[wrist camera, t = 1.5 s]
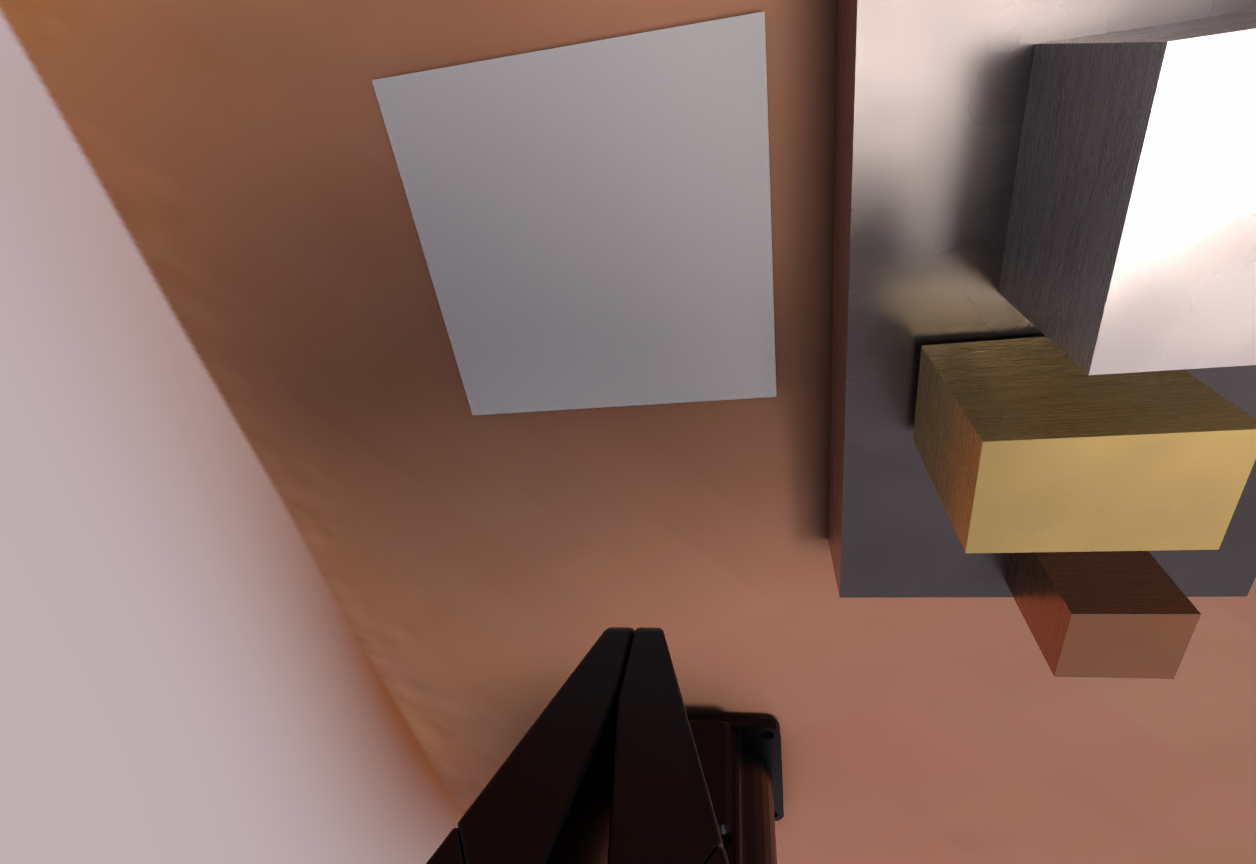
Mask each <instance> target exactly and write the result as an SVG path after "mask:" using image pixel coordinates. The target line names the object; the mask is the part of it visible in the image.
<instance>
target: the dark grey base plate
mask: <svg viewBox="0 0 1256 864" xmlns="http://www.w3.org/2000/svg"><path fill="white" fill-rule="evenodd" d="M1253 10H1256V0H838V6H837V65H836V125H835V184H834V244H833V303H832V363H831V422H830V482H829V545H830V550H831V555H832V561H833V566H834V571H835V576H836V581H837V586H838V591H839V596H840V597H1014V599H1015V601H1016V603H1017V605H1018V607H1019V609H1020V611H1021V613H1022V615H1023V616H1024V618H1025V620H1026V622H1027V624H1028V626H1029V628H1030V630H1031V632H1032V634H1033V636H1034V638H1035V640H1036V642H1037V644H1038V646H1039V648H1040V650H1041V652H1042V653H1043V655H1044V657H1045V659H1046V661H1047V663H1048V665H1049V667H1050V669H1051V671H1052V673H1053V675H1054V676H1057V677H1109V678H1162V679H1174V677H1175V675H1176V672H1177V670H1178V668H1179V665H1180V663H1181V660H1182V658H1183V656H1184V653H1185V651H1186V648H1187V646H1188V644H1189V641H1190V639H1191V637H1192V634H1193V632H1194V629H1195V627H1196V625H1197V622H1198V620H1199V618H1200V615H1201V614H1200V613H1199V611H1198V610H1197V609H1196V608H1195V607H1194V605H1193V604H1192V603H1191V602H1190V601H1189V599H1188V598H1187V597H1204V596H1247V595H1248V592H1249V590H1250V588H1251V586H1252V584H1253V582H1254V579H1255V577H1256V460H1255V462H1254V465H1253V467H1252V469H1251V472H1250V474H1249V477H1248V479H1247V482H1246V484H1245V487H1244V489H1243V491H1242V494H1241V496H1240V499H1239V501H1238V504H1237V506H1236V508H1235V511H1234V513H1233V516H1232V518H1231V521H1230V523H1229V526H1228V528H1227V530H1226V533H1225V535H1224V538H1223V540H1222V543H1221V545H1220V547H1219V550H1162V551H1094V552H1026V553H965V551H964V549H963V547H962V545H961V543H960V540H959V538H958V536H957V534H956V532H955V530H954V528H953V525H952V523H951V521H950V519H949V517H948V515H947V512H946V510H945V508H944V506H943V504H942V502H941V499H940V497H939V495H938V493H937V491H936V489H935V486H934V484H933V482H932V480H931V478H930V476H929V474H928V471H927V469H926V467H925V465H924V463H923V461H922V458H921V456H920V454H919V452H918V450H917V448H916V445H915V443H914V441H913V432H914V421H915V410H916V399H917V388H918V378H919V367H920V356H921V346H923V345H936V344H950V343H964V342H977V341H991V340H1005V339H1018V338H1032V337H1045V335H1044V334H1043V333H1042V332H1041V331H1040V330H1039V329H1037V328H1036V327H1035V326H1034V325H1033V324H1032V323H1031V322H1030V321H1029V320H1028V319H1027V318H1025V317H1024V316H1023V315H1022V314H1021V313H1020V312H1019V311H1018V310H1017V309H1016V308H1014V307H1013V306H1012V305H1011V304H1010V303H1009V302H1008V301H1007V300H1006V299H1005V298H1004V297H1002V296H1001V295H1000V294H999V293H998V289H999V283H1000V276H1001V269H1002V263H1003V256H1004V249H1005V242H1006V236H1007V229H1008V222H1009V216H1010V209H1011V202H1012V196H1013V189H1014V182H1015V175H1016V169H1017V162H1018V155H1019V149H1020V142H1021V135H1022V129H1023V122H1024V115H1025V108H1026V102H1027V95H1028V88H1029V82H1030V75H1031V68H1032V62H1033V55H1034V48H1035V44H1038V43H1044V42H1051V41H1057V40H1064V39H1071V38H1077V37H1084V36H1090V35H1097V34H1103V33H1110V32H1116V31H1123V30H1129V29H1136V28H1142V27H1149V26H1155V25H1162V24H1168V23H1175V22H1181V21H1188V20H1194V19H1201V18H1208V17H1214V16H1221V15H1227V14H1234V13H1240V12H1247V11H1253ZM1184 370H1186V371H1187V372H1189V373H1190V374H1192V375H1193V376H1194V377H1196V378H1197V379H1199V380H1200V381H1201V382H1203V383H1204V384H1206V385H1207V386H1208V387H1210V388H1211V389H1213V390H1214V391H1216V392H1217V393H1218V394H1220V395H1221V396H1223V397H1224V398H1225V399H1227V400H1228V401H1230V402H1231V403H1232V404H1234V405H1235V406H1237V407H1238V408H1240V409H1241V410H1242V411H1244V412H1245V413H1247V414H1248V415H1249V416H1251V417H1252V418H1254V419H1255V420H1256V365H1248V366H1231V367H1215V368H1199V369H1184Z"/></svg>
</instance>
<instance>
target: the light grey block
mask: <svg viewBox="0 0 1256 864" xmlns="http://www.w3.org/2000/svg"><path fill="white" fill-rule="evenodd" d="M998 293H999V294H1000V295H1001V296H1002V297H1004V298H1005V299H1006V300H1007V301H1008V302H1009V303H1010V304H1011V305H1012V306H1013V307H1014V308H1016V309H1017V310H1018V311H1019V312H1020V313H1021V314H1022V315H1023V316H1024V317H1025V318H1027V319H1028V320H1029V321H1030V322H1031V323H1032V324H1033V325H1034V326H1035V327H1036V328H1037V329H1039V330H1040V331H1041V332H1042V333H1043V334H1044V335H1045V336H1046V337H1047V338H1048V339H1049V340H1051V341H1052V342H1053V343H1054V344H1055V345H1056V346H1057V347H1058V348H1059V349H1060V350H1061V351H1063V352H1064V353H1065V354H1066V355H1067V356H1068V357H1069V358H1070V359H1071V360H1072V361H1074V362H1075V363H1076V364H1077V365H1078V366H1079V367H1080V368H1081V369H1082V370H1083V371H1084V372H1086V373H1087V374H1088V375H1102V374H1119V373H1135V372H1151V371H1167V370H1183V369H1199V368H1215V367H1231V366H1248V365H1256V10H1253V11H1247V12H1240V13H1234V14H1227V15H1221V16H1214V17H1208V18H1201V19H1194V20H1188V21H1181V22H1175V23H1168V24H1162V25H1155V26H1149V27H1142V28H1136V29H1129V30H1123V31H1116V32H1110V33H1103V34H1097V35H1090V36H1084V37H1077V38H1071V39H1064V40H1057V41H1051V42H1044V43H1038V44H1035V48H1034V55H1033V62H1032V68H1031V75H1030V82H1029V88H1028V95H1027V102H1026V108H1025V115H1024V122H1023V129H1022V135H1021V142H1020V149H1019V155H1018V162H1017V169H1016V175H1015V182H1014V189H1013V196H1012V202H1011V209H1010V216H1009V222H1008V229H1007V236H1006V242H1005V249H1004V256H1003V263H1002V269H1001V276H1000V283H999V289H998Z"/></svg>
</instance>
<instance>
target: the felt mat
mask: <svg viewBox="0 0 1256 864" xmlns="http://www.w3.org/2000/svg"><path fill="white" fill-rule="evenodd" d="M372 83H373V86H374V90H375V93H376V96H377V100H378V103H379V106H380V110H381V113H382V116H383V119H384V123H385V126H386V129H387V133H388V136H389V139H390V143H391V146H392V149H393V153H394V156H395V159H396V163H397V166H398V169H399V173H400V176H401V179H402V183H403V186H404V189H405V193H406V196H407V199H408V202H409V206H410V209H411V212H412V216H413V219H414V222H415V226H416V229H417V232H418V236H419V239H420V242H421V246H422V249H423V252H424V256H425V259H426V262H427V266H428V269H429V272H430V276H431V279H432V282H433V286H434V289H435V292H436V295H437V299H438V302H439V305H440V309H441V312H442V315H443V319H444V322H445V325H446V329H447V332H448V335H449V339H450V342H451V345H452V349H453V352H454V355H455V359H456V362H457V365H458V369H459V372H460V375H461V378H462V382H463V385H464V388H465V392H466V395H467V398H468V402H469V405H470V408H471V412H472V415H488V414H504V413H520V412H537V411H553V410H569V409H585V408H602V407H618V406H634V405H651V404H667V403H683V402H699V401H716V400H732V399H748V398H765V397H777V396H776V364H775V331H774V299H773V266H772V234H771V201H770V168H769V136H768V103H767V71H766V38H765V11H764V12H758V13H752V14H747V15H741V16H735V17H729V18H724V19H718V20H712V21H707V22H701V23H695V24H690V25H684V26H678V27H672V28H667V29H661V30H655V31H650V32H644V33H638V34H632V35H627V36H621V37H615V38H610V39H604V40H598V41H592V42H587V43H581V44H575V45H570V46H564V47H558V48H552V49H547V50H541V51H535V52H530V53H524V54H518V55H512V56H507V57H501V58H495V59H490V60H484V61H478V62H472V63H467V64H461V65H455V66H450V67H444V68H438V69H432V70H427V71H421V72H415V73H410V74H404V75H398V76H392V77H387V78H381V79H375V80H372Z"/></svg>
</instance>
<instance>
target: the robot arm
mask: <svg viewBox="0 0 1256 864" xmlns="http://www.w3.org/2000/svg"><path fill="white" fill-rule="evenodd" d="M783 816H784V812H783V786H782V760H781V735H780V725H779V723H778V722H777V721H776V720H773V719H771V718H756V717H725V716H695V715H687V714H686V710H685V706H684V703H683V699H682V696H681V692H680V689H679V685H678V681H677V678H676V674H675V671H674V667H673V664H672V660H671V657H670V653H669V649H668V646H667V642H666V639H665V635H664V632H663V630H662V629H661V628H637V629H636V630H635V631H634V629H632V628H625V627H611V628H608V629H606V630H605V631H604V632H603V634H602V635H601V636H600V638H599V639H598V640H597V641H596V643H595V644H594V645H593V647H592V648H591V649H590V651H589V652H588V653H587V655H586V656H585V657H584V658H583V660H582V661H581V662H580V664H579V665H578V666H577V668H576V669H575V670H574V672H573V673H572V674H571V675H570V677H569V678H568V679H567V681H566V682H565V683H564V685H563V686H562V687H561V689H560V690H559V691H558V693H557V694H556V695H555V696H554V698H553V699H552V700H551V702H550V703H549V704H548V706H547V707H546V708H545V710H544V711H543V712H542V713H541V715H540V716H539V717H538V719H537V720H536V721H535V723H534V724H533V725H532V727H531V728H530V729H529V730H528V732H527V733H526V734H525V736H524V737H523V738H522V740H521V741H520V742H519V744H518V745H517V746H516V747H515V749H514V750H513V751H512V753H511V754H510V755H509V757H508V758H507V759H506V761H505V762H504V763H503V765H502V766H501V767H500V768H499V770H498V771H497V772H496V774H495V775H494V776H493V778H492V779H491V780H490V782H489V783H488V784H487V785H486V787H485V788H484V789H483V791H482V792H481V793H480V795H479V796H478V797H477V799H476V800H475V801H474V802H473V804H472V805H471V806H470V808H469V809H468V810H467V812H466V813H465V814H464V816H463V817H462V818H461V820H460V821H459V822H458V828H454V829H453V830H452V831H451V832H450V833H449V835H448V836H447V837H446V839H445V840H444V841H443V843H442V844H441V845H440V847H439V848H438V849H437V851H436V852H435V853H434V854H433V856H432V857H431V858H430V859H429V861H428V862H427V863H426V864H777V855H776V837H775V821H777V820H780V819H782V818H783Z"/></svg>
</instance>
